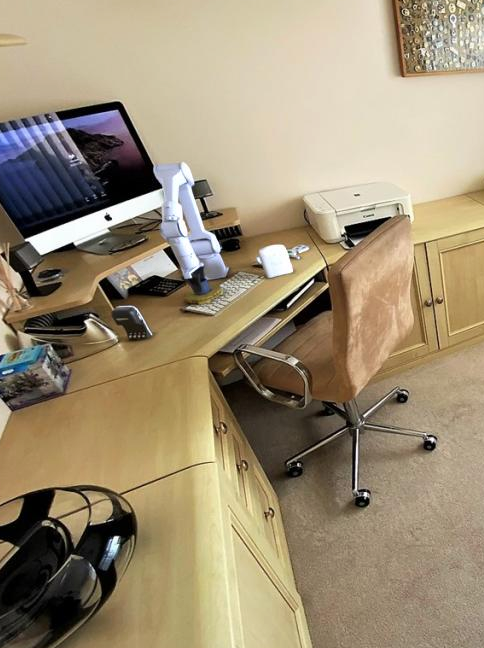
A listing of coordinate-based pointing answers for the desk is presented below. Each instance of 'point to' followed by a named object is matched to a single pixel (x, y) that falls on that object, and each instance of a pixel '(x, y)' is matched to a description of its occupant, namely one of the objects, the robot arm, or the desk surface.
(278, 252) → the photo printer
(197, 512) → the desk surface
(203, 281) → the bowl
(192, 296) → the gold flat disc
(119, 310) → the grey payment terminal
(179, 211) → the robot arm
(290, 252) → the robot figure
